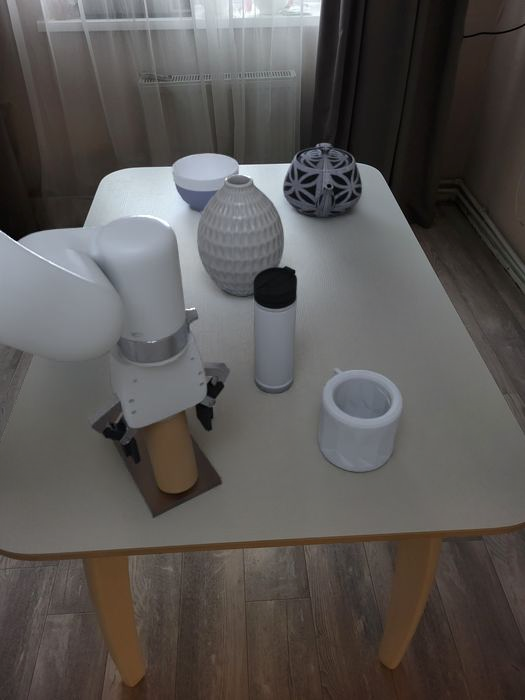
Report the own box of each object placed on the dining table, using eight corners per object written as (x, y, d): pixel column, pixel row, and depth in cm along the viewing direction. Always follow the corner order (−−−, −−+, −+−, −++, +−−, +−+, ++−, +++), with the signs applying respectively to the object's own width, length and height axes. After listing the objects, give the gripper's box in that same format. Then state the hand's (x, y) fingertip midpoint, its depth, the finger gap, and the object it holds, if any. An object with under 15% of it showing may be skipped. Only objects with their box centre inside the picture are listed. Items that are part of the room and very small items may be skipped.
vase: (287, 267, 116) (290, 163, 101) (277, 314, 104) (279, 204, 89) (211, 261, 118) (203, 159, 103) (192, 306, 106) (181, 197, 91)
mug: (407, 460, 78) (420, 412, 72) (338, 483, 75) (344, 435, 69) (361, 396, 88) (368, 348, 81) (298, 414, 85) (301, 366, 78)
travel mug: (302, 378, 91) (308, 275, 78) (275, 399, 87) (277, 295, 74) (273, 361, 94) (275, 259, 81) (246, 381, 90) (243, 277, 77)
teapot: (283, 238, 125) (285, 174, 116) (281, 180, 149) (283, 123, 139) (368, 238, 125) (377, 174, 115) (353, 180, 148) (359, 123, 139)
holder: (153, 518, 71) (152, 513, 71) (102, 422, 84) (101, 417, 83) (221, 483, 75) (221, 479, 75) (163, 397, 88) (162, 392, 87)
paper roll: (150, 474, 75) (166, 500, 71) (131, 404, 69) (147, 428, 65) (187, 456, 78) (205, 481, 73) (172, 387, 71) (190, 409, 67)
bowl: (187, 187, 146) (183, 151, 139) (246, 192, 143) (245, 155, 137) (167, 215, 134) (162, 177, 128) (231, 221, 131) (229, 182, 125)
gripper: (208, 290, 64) (216, 395, 75) (59, 341, 57) (93, 447, 69) (241, 325, 59) (244, 430, 71) (82, 384, 53) (114, 491, 64)
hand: (170, 439), depth 70 cm, fingers open, 9 cm apart
